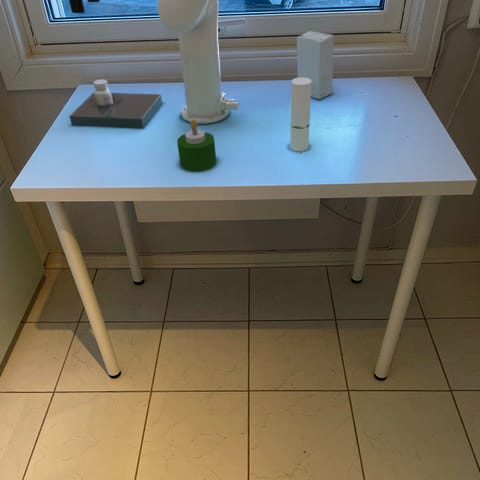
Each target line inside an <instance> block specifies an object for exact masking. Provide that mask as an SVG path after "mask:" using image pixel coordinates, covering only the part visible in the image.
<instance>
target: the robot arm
mask: <svg viewBox="0 0 480 480" xmlns="http://www.w3.org/2000/svg"><path fill="white" fill-rule="evenodd" d="M68 1H69V5H70V10H71V13H73V14H84V13H85V12H86V9H85V5H84V0H68ZM87 2H88V3H100V2H101V0H87ZM157 13H158V17H159V19H160V22H161V24H162V25H163V26H164V27H165V28H166V30H168V31H170V32H172V33H175V34H178V47H179V56H180V64H181V71H182V80H183V81H182V82H183V88H184V97H185V106H184V107H183V108H182V109H181V112H180V114H181V118H182V119H183V120H184V121H186V122H187V123H191V121H192V120H195V121H196V122H197V125H198V124H201V125H202V124H212V123H216V122H220V121H223V120H224V119H225V118H227V116H228V115H229V114H230V111H239V107H240V106H239V105H240V104H239V102H237V100H236V99H233V98H232V99H228V98H227V97H226V93H225V92H223V90H222V78H221V75H222V74H221V64H220V63H221V62H220V48H219V33H218V32H219V30H218V29H219V26H218V25H219V23H218V22H219V0H157Z"/></svg>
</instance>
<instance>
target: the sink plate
mask: <svg viewBox="0 0 480 480" xmlns="http://www.w3.org/2000/svg"><path fill="white" fill-rule="evenodd" d="M111 95H112V99H113V103H111V104H109V105H97V102H96V98H95V94H94V92H92V93H91V94H90V95H89V97H87V98H86V99H85V100H84V101H83V102H82V103H81V104H80V105H79V106H78V107H77V108H76V109H75V110H74V111H73V112H72V113H71V114H70V115H69V120H70V123H71V126H77V127H78V126H79V127H80V126H81V127H101V128H124V129H144V128H145V127H146V126H147V124H148V123H149V122H150V121H151V119H152V118H153V116H154V115H155V114H156V113H157V111H158V110H159V108H160V107H161V106H162V104H163V99H162V94H159V93H158V94H157V93H130V92H129V93H127V92H126V93H125V92H111Z"/></svg>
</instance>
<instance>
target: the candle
mask: <svg viewBox="0 0 480 480" xmlns="http://www.w3.org/2000/svg"><path fill="white" fill-rule="evenodd" d="M190 129H191V130H188V131H186V133H183V134H181V135H180V136H179V137H178V138H177V139H176V140H177V141H176V143H177V151H178V159H179V164H180V167H181V168H182V169H183V170H185V171H188V172H204V171H207V170H210V169H212V168H214V166H215V165H216V163H217V155H216V144H215V137H214V135H213V134H212V133H209V132H207V131H203V130H202V129H198V123H197V122H196V121H195V120H192V121H191V122H190Z"/></svg>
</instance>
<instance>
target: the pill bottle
mask: <svg viewBox="0 0 480 480" xmlns="http://www.w3.org/2000/svg"><path fill="white" fill-rule="evenodd" d="M93 86H94V89H95V90H94V91H93V93H94V94H95V98H96V102H97V105H109V104H111V103H113V99H112V95H111V93H112V91H111V89H110V88H109V87H108V86H109V85H108V80H107V79H96V80H94V81H93Z"/></svg>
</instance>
